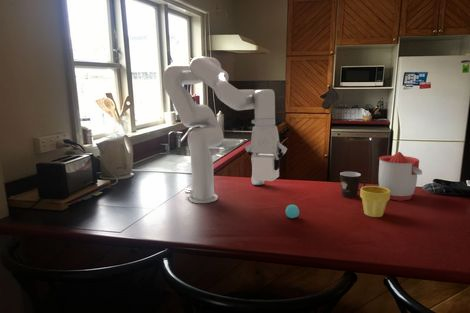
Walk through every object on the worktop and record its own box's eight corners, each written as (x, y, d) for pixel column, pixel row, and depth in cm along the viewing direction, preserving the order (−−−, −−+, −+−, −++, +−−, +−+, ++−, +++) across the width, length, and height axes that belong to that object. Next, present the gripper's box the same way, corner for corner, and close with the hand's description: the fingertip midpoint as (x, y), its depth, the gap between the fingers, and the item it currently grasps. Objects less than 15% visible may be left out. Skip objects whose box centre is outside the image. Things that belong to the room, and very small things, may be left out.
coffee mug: (336, 193, 162) (337, 172, 160) (354, 192, 163) (355, 171, 161) (346, 201, 151) (347, 178, 149) (366, 200, 151) (367, 177, 149)
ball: (283, 219, 132) (284, 206, 131) (287, 214, 137) (287, 202, 136) (297, 220, 130) (297, 207, 130) (300, 216, 135) (300, 203, 134)
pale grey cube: (253, 179, 136) (252, 156, 134) (260, 175, 143) (260, 153, 141) (272, 181, 133) (271, 158, 131) (279, 176, 139) (278, 154, 138)
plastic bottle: (263, 186, 175) (263, 146, 172) (250, 186, 177) (249, 146, 173) (265, 183, 182) (265, 144, 178) (252, 182, 183) (251, 144, 179)
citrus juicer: (410, 206, 143) (414, 157, 140) (370, 197, 156) (372, 151, 152) (426, 197, 153) (430, 152, 150) (387, 189, 166) (389, 147, 162)
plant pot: (387, 210, 139) (389, 186, 137) (389, 220, 129) (391, 194, 127) (359, 208, 142) (360, 184, 140) (359, 217, 133) (360, 192, 131)
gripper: (239, 123, 134) (241, 169, 137) (284, 124, 127) (285, 172, 130) (247, 122, 141) (248, 165, 144) (290, 122, 133) (290, 168, 137)
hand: (266, 168), depth 137 cm, fingers closed on pale grey cube, 7 cm apart
